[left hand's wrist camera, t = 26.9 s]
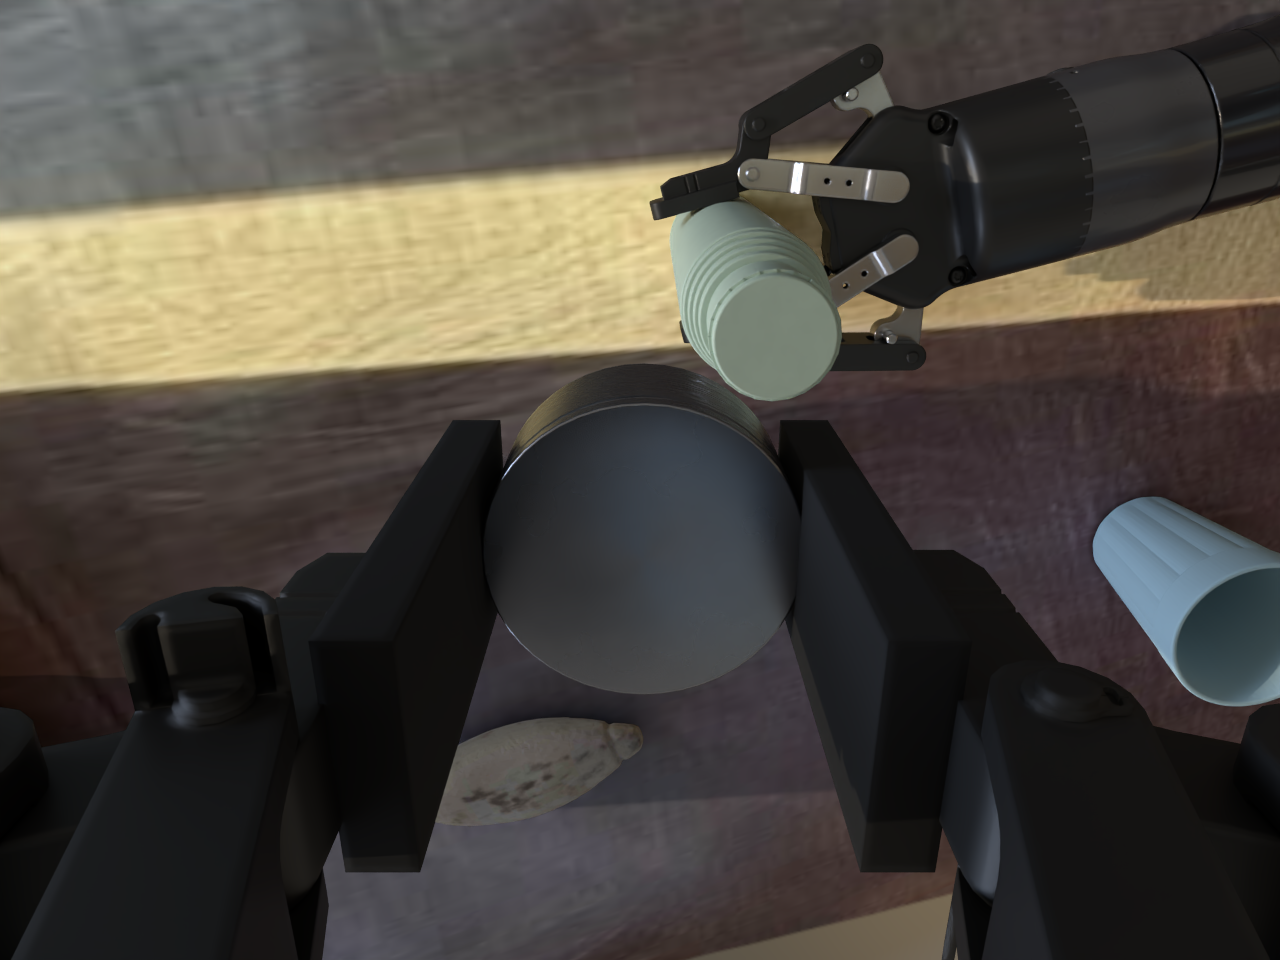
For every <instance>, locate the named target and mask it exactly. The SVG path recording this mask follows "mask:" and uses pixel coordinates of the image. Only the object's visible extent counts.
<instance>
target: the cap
mask: <svg viewBox="0 0 1280 960" xmlns="http://www.w3.org/2000/svg"><path fill="white" fill-rule="evenodd" d="M800 533H801V512H800V508H799V505H798V502H797V499H796V497H795V495H794V492H793V490H792V488H791V485H790V483H789V481H788V478H787V476H786V474H785V471H784V469H783V467H782V464H781V462H780V460H779V457H778V455H777V452H776V450H775V448H774V446H773V444H772V441H771V439H770V437H769V435H768V433H767V432H766V430H765V429H764V427H763V425H762V424H761V422H760V421H759V419H758V418H757V417H756V416H755V415H754V413H753V412H752V411H751V410H750V409H749V408H748V406H747V405H745V404H744V403H743V402H742V401H741V400H740V399H739V398H738V397H736V396H735V395H734V394H733V393H731V392H730V391H728V390H727V389H725V388H724V387H722V386H721V385H719V384H718V383H716V382H714V381H712V380H710V379H708V378H706V377H704V376H702V375H700V374H697V373H694V372H691V371H688V370H685V369H681V368H676V367H671V366H666V365H657V364H629V365H621V366H615V367H610V368H605V369H602V370H599V371H596V372H593V373H590V374H587V375H585V376H583V377H581V378H579V379H577V380H575V381H573V382H570V383H569V384H567V385H566V386H564V387H563V388H561V389H560V390H558V391H557V392H555V393H554V394H553V395H552V396H550V397H549V398H548V399H547V400H546V401H545V402H543V403H542V404H541V405H540V406H539V407H538V408H537V410H536V411H535V412H534V413H533V414H532V415H531V416H530V418H529V419H528V420H527V422H526V423H525V425H524V426H523V428H522V429H521V431H520V433H519V434H518V436H517V438H516V441H515V443H514V445H513V447H512V449H511V451H510V454H509V456H508V459H507V461H506V464H505V466H504V468H503V471H502V473H501V476H500V478H499V481H498V483H497V485H496V488H495V490H494V493H493V495H492V498H491V500H490V503H489V506H488V510H487V513H486V516H485V520H484V527H483V533H482V561H483V570H484V576H485V580H486V583H487V587H488V590H489V594H490V596H491V598H492V600H493V603H494V605H495V607H496V609H497V612H498V613H499V615H500V616H501V618H502V620H503V621H504V623H505V624H506V626H507V628H508V629H509V630H510V631H511V633H512V634H513V635H514V636H515V637H516V639H517V640H518V641H519V642H520V643H521V644H522V645H523V646H524V647H525V648H526V649H527V650H528V651H529V652H530V653H531V654H532V655H534V656H535V657H536V658H537V659H539V660H540V661H542V662H543V663H544V664H546V665H547V666H548V667H550V668H552V669H553V670H555V671H557V672H559V673H561V674H562V675H564V676H566V677H568V678H571V679H573V680H575V681H578V682H580V683H583V684H585V685H589V686H592V687H595V688H599V689H602V690H607V691H613V692H619V693H629V694H659V693H668V692H674V691H680V690H684V689H688V688H691V687H695V686H699V685H702V684H704V683H707V682H709V681H712V680H714V679H717V678H719V677H721V676H723V675H725V674H726V673H728V672H730V671H732V670H734V669H735V668H737V667H738V666H740V665H741V664H743V663H744V662H745V661H747V660H748V659H750V658H751V657H752V656H753V655H754V654H756V653H757V652H758V651H759V650H760V649H761V648H762V647H763V646H764V645H765V644H766V643H767V642H768V641H769V640H770V639H771V637H772V636H773V635H774V634H775V633H776V631H777V630H778V629H779V628H780V626H781V624H782V623H783V621H784V620H785V618H786V617H787V615H788V613H789V612H790V609H791V607H792V605H793V603H794V601H795V598H796V586H797V573H798V560H799V546H800Z"/></svg>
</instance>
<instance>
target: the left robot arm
mask: <svg viewBox="0 0 1280 960" xmlns="http://www.w3.org/2000/svg"><path fill="white" fill-rule="evenodd" d="M778 457H779V460H780V462H781V464H782V467H783V469H784V471H785V474H786V476H787V478H788V481H789V483H790V485H791V488H792V490H793V492H794V495H795V497H796V499H797V502H798V505H799V508H800V512H801V533H800V546H799V560H798V573H797V586H796V598H795V601H794V603H793V605H792V607H791V609H790V612H789V613H788V615H787V617H786V618H785V621H786V624H787V628H788V631H789V634H790V638H791V641H792V644H793V648H794V651H795V654H796V658H797V661H798V664H799V668H800V671H801V674H802V678H803V681H804V685H805V688H806V691H807V695H808V698H809V701H810V705H811V708H812V711H813V715H814V718H815V721H816V725H817V728H818V731H819V735H820V738H821V741H822V745H823V748H824V752H825V755H826V758H827V762H828V765H829V768H830V772H831V775H832V778H833V782H834V785H835V788H836V792H837V795H838V798H839V802H840V805H841V809H842V812H843V815H844V819H845V822H846V825H847V829H848V832H849V835H850V839H851V842H852V845H853V849H854V852H855V855H856V859H857V862H858V866H859V869H860V872H935V869H936V863H937V857H938V851H939V845H940V838H941V832H942V828H943V830H944V832H945V835H946V837H947V839H948V842H949V844H950V846H951V848H952V851H953V853H954V855H955V858H956V860H957V862H958V867H957V873H956V878H955V884H954V890H953V895H952V901H951V907H950V913H949V919H948V924H947V930H946V936H945V941H944V948H943V955H942V960H954V958H955V952H956V947H957V954H958V960H1280V704H1273V705H1266V706H1262V707H1261V708H1259V709H1258V710H1257V711H1255V712H1254V713H1253V714H1251V715H1250V716H1249V719H1248V722H1247V725H1246V729H1245V732H1244V735H1243V738H1242V742H1241V744H1239V743H1234V742H1228V741H1223V740H1218V739H1213V738H1207V737H1202V736H1197V735H1192V734H1187V733H1181V732H1176V731H1172V730H1168V729H1164V728H1160V727H1156V726H1153V725H1152V723H1151V721H1150V719H1149V717H1148V715H1147V713H1146V711H1145V710H1144V708H1143V707H1142V706H1141V705H1140V704H1139V702H1138V701H1137V700H1136V699H1135V698H1134V696H1133V695H1132V694H1131V693H1130V692H1128V691H1127V690H1125V689H1124V688H1122V687H1121V686H1119V685H1118V684H1116V683H1115V682H1113V681H1112V680H1110V679H1109V678H1107V677H1104V676H1102V675H1099V674H1097V673H1094V672H1092V671H1089V670H1087V669H1084V668H1082V667H1079V666H1074V665H1069V664H1065V663H1060V662H1058V661H1057V660H1056V658H1055V657H1054V656H1053V655H1052V653H1051V652H1050V651H1049V650H1048V648H1047V647H1046V646H1045V644H1044V643H1043V642H1042V641H1041V639H1040V638H1039V637H1038V636H1037V634H1036V633H1035V632H1034V631H1033V629H1032V628H1031V627H1030V626H1029V624H1028V623H1027V622H1026V621H1025V619H1024V618H1023V617H1022V615H1021V614H1020V613H1019V612H1016V611H1015V607H1014V605H1013V604H1012V603H1011V602H1010V600H1009V599H1008V598H1007V597H1006V595H1005V594H1001V589H1000V588H999V586H998V585H997V584H996V583H995V581H994V580H993V579H992V578H991V576H990V575H989V574H988V573H987V571H986V570H985V569H984V568H983V567H981V566H979V565H978V564H976V563H974V562H973V561H971V560H969V559H968V558H966V557H964V556H963V555H961V554H959V553H958V552H956V551H954V550H912V548H911V547H910V545H909V544H908V542H907V541H906V539H905V537H904V536H903V534H902V533H901V531H900V530H899V528H898V527H897V525H896V524H895V522H894V521H893V519H892V518H891V516H890V515H889V513H888V512H887V510H886V509H885V507H884V505H883V504H882V502H881V501H880V499H879V498H878V496H877V495H876V493H875V492H874V490H873V489H872V487H871V486H870V484H869V483H868V481H867V480H866V478H865V477H864V475H863V473H862V472H861V470H860V469H859V467H858V466H857V464H856V463H855V461H854V460H853V458H852V457H851V455H850V454H849V452H848V451H847V449H846V448H845V446H844V445H843V443H842V441H841V440H840V438H839V437H838V435H837V434H836V432H835V431H834V429H833V428H832V426H831V425H830V423H829V422H828V420H780V433H779V449H778ZM502 471H503V456H502V440H501V424H500V420H453V421H452V423H451V424H450V426H449V427H448V429H447V430H446V432H445V433H444V435H443V436H442V438H441V439H440V441H439V442H438V444H437V445H436V447H435V449H434V450H433V452H432V453H431V455H430V456H429V458H428V459H427V461H426V462H425V464H424V465H423V467H422V468H421V470H420V471H419V473H418V474H417V476H416V477H415V479H414V481H413V482H412V484H411V485H410V487H409V488H408V490H407V491H406V493H405V494H404V496H403V497H402V499H401V500H400V502H399V503H398V505H397V506H396V508H395V509H394V511H393V513H392V514H391V516H390V517H389V519H388V520H387V522H386V523H385V525H384V526H383V528H382V529H381V531H380V532H379V534H378V535H377V537H376V538H375V540H374V541H373V543H372V545H371V546H370V548H369V549H368V551H367V552H366V553H326V554H325V555H323V556H321V557H320V558H318V559H317V560H315V561H313V562H312V563H310V564H308V565H307V566H305V567H303V568H302V569H300V570H298V571H297V572H296V573H295V574H294V576H293V577H292V578H291V580H290V581H289V582H288V583H287V585H286V586H285V587H284V588H283V590H282V591H281V592H280V597H276V599H273V598H272V597H271V596H269V595H268V594H266V593H265V592H264V591H260V590H255V589H251V588H246V587H211V588H206V589H200V590H195V591H189V592H184V593H181V594H178V595H175V596H172V597H169V598H166V599H163V600H160V601H157V602H155V603H153V604H151V605H149V606H147V607H146V608H144V609H142V610H140V611H138V612H137V613H135V614H133V615H131V616H130V617H129V618H128V619H127V620H126V621H125V622H124V623H123V624H122V625H121V626H120V627H119V628H118V629H117V630H116V631H115V633H116V637H117V641H118V645H119V649H120V653H121V657H122V661H123V665H124V669H125V673H126V677H127V681H128V684H129V688H130V692H131V696H132V700H133V704H134V708H135V713H134V715H133V717H132V719H131V721H130V723H129V725H128V727H127V729H126V730H125V731H121V732H117V733H113V734H109V735H104V736H99V737H94V738H88V739H83V740H78V741H73V742H68V743H63V744H57V745H52V746H47V747H42V748H41V746H40V742H39V739H38V736H37V733H36V729H35V726H34V723H33V720H32V719H30V718H29V717H28V716H27V715H25V714H24V713H23V712H21V711H20V710H16V709H9V708H3V707H0V960H322V956H323V948H324V940H325V931H326V923H327V915H328V907H329V904H328V897H327V890H326V884H325V878H324V873H323V866H324V864H325V861H326V859H327V857H328V854H329V852H330V850H331V847H332V845H333V843H334V841H335V838H336V836H337V834H338V831H339V835H340V841H341V847H342V853H343V859H344V866H345V872H420V871H421V867H422V864H423V861H424V857H425V854H426V851H427V847H428V844H429V841H430V837H431V834H432V831H433V827H434V824H435V821H436V817H437V814H438V810H439V807H440V804H441V800H442V797H443V794H444V790H445V787H446V784H447V780H448V777H449V774H450V770H451V767H452V764H453V760H454V757H455V753H456V750H457V747H458V743H459V740H460V737H461V733H462V730H463V727H464V723H465V720H466V717H467V713H468V710H469V707H470V703H471V700H472V696H473V693H474V690H475V686H476V683H477V680H478V676H479V673H480V670H481V666H482V663H483V660H484V656H485V653H486V650H487V646H488V643H489V639H490V636H491V633H492V629H493V626H494V623H495V619H496V616H497V613H498V612H497V609H496V607H495V605H494V603H493V600H492V598H491V596H490V594H489V590H488V587H487V583H486V580H485V576H484V570H483V561H482V533H483V527H484V520H485V516H486V513H487V510H488V506H489V503H490V500H491V498H492V495H493V493H494V490H495V488H496V485H497V483H498V481H499V478H500V476H501V473H502Z"/></svg>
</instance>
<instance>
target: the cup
mask: <svg viewBox="0 0 1280 960" xmlns="http://www.w3.org/2000/svg"><path fill="white" fill-rule="evenodd" d="M1093 555H1094V560H1095V562H1096V564H1097V565H1098V567H1099V568H1100V570H1101V571H1102V573H1103V574H1104V575H1105V577H1106V578H1107V580H1108V581H1109V582H1110V584H1111V585H1112V587H1113V588H1114V589H1115V591H1116V592H1117V593H1118V595H1119V596H1120V598H1121V599H1122V600H1123V602H1124V603H1125V604H1126V606H1127V607H1128V609H1129V610H1130V611H1131V613H1132V614H1133V615H1134V617H1135V618H1136V620H1137V621H1138V622H1139V624H1140V625H1141V626H1142V628H1143V629H1144V631H1145V632H1146V633H1147V635H1148V636H1149V638H1150V639H1151V640H1152V642H1153V643H1154V644H1155V646H1156V647H1157V649H1158V651H1159V652H1160V654H1161V656H1162V657H1163V658H1164V660H1165V661H1166V663H1167V664H1168V665H1169V667H1170V668H1171V670H1172V671H1173V672H1174V674H1175V675H1176V677H1177V678H1178V679H1179V681H1180V682H1181V683H1182V684H1183V686H1184V687H1185V688H1187V689H1188V690H1189V691H1190V692H1191V693H1193V694H1194V695H1196V696H1197V697H1199V698H1201V699H1203V700H1205V701H1208V702H1211V703H1215V704H1219V705H1226V706H1248V705H1255V704H1261V703H1265V702H1268V701H1272V700H1274V699H1277V698H1280V553H1278V552H1275V551H1272V550H1269V549H1267V548H1265V547H1263V546H1261V545H1259V544H1257V543H1255V542H1253V541H1251V540H1249V539H1247V538H1245V537H1243V536H1241V535H1239V534H1237V533H1235V532H1233V531H1231V530H1229V529H1227V528H1225V527H1223V526H1221V525H1219V524H1217V523H1215V522H1213V521H1211V520H1209V519H1207V518H1205V517H1203V516H1201V515H1199V514H1197V513H1195V512H1193V511H1191V510H1189V509H1187V508H1185V507H1183V506H1181V505H1179V504H1176V503H1174V502H1172V501H1170V500H1168V499H1166V498H1162V497H1141V498H1136V499H1134V500H1131V501H1128V502H1126V503H1124V504H1122V505H1120V506H1118V507H1117V508H1116V509H1114V510H1113V511H1112V512H1111V513H1110V514H1109V515H1108V516H1107V517H1106V518H1105V519H1104V520H1103V521H1102V523H1101V524H1100V526H1099V527H1098V530H1097V532H1096V534H1095V537H1094V541H1093Z"/></svg>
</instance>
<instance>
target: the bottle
mask: <svg viewBox="0 0 1280 960" xmlns="http://www.w3.org/2000/svg"><path fill="white" fill-rule="evenodd" d="M739 197H740V198H737V199H733V200H729V201H726V202H722V203H717V204H714V205H711V206H707V207H704V208H700V209H697V210H693V211H689V212H686V213H682V214H678V215H676V217H675V220H674V222H673V225H672V228H671V232H670V250H671V256H672V263H673V269H674V276H675V282H676V289H677V295H678V302H679V308H680V315H681V320H682V325H683V328H684V331H685V334H686V336H687V338H688V340H689V342H690V344H691V345H692V347H693V348H694V350H695V351H696V352H697V353H698V354H699V355H700V357H701V358H702V359H703V360H704V361H705V362H707V363H708V364H709V365H710V366H711V367H713V368H714V369H716V370H717V371H718V373H719V374H720V375H721V377H722V378H723V379H724V380H725V382H726V383H727V384H728V385H730V386H731V387H732V388H734V389H735V390H737V391H738V392H739V393H741V394H744V395H746V396H749V397H751V398H754V399H758V400H767V401H777V400H784V399H790V398H793V397H795V396H798V395H800V394H803V393H805V392H807V391H808V390H809V389H811V388H812V387H814V386H815V385H816V384H818V383H819V382H820V381H821V380H822V379H823V378H824V376H825V375H826V374H827V373H828V372H829V370H831V368H832V366H833V364H834V362H835V359H836V357H837V355H838V353H839V349H840V344H841V339H842V330H841V319H840V316H839V313H838V310H837V307H836V304H835V303H834V301H833V300H832V294H831V287H830V283H829V280H828V277H827V274H826V271H825V269H824V266H823V265H822V263H821V261H820V260H819V258H818V257H817V255H816V254H815V253H814V251H813V250H812V249H811V248H810V247H809V246H808V245H807V244H805V243H804V242H803V241H802V240H800V239H799V238H798V237H796V236H795V235H793V234H792V233H791V232H789V231H788V230H787V229H785V228H784V227H783V226H781V225H780V224H779V223H777V222H776V221H774V220H773V219H772V218H770V217H769V216H768V215H766V214H765V213H764V212H762V211H761V210H760V209H758V208H757V207H755V206H754V205H753V204H751V203H750V202H749V201H747V200H746V199H744V198H743V197H741V196H739Z"/></svg>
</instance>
